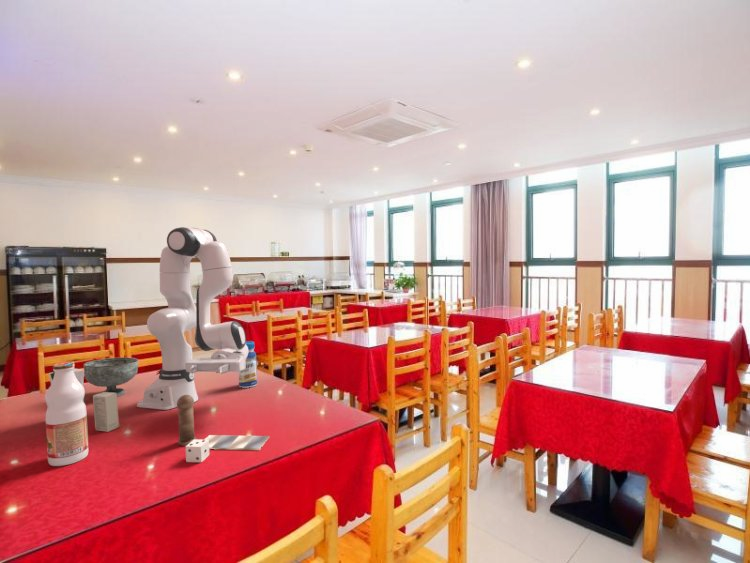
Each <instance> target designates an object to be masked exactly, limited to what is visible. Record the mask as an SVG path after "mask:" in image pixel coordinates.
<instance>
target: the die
mask: <svg viewBox="0 0 750 563" xmlns="http://www.w3.org/2000/svg"><path fill="white" fill-rule="evenodd" d="M209 456H210V449H209V440H204V439H199V438H198V439H197V438H196V439H194V440H193V441H192V442H190V443H189V444H188V445H187V446H185V461H186V463H203V462H204V461H205V460H206V458H208V457H209Z"/></svg>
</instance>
